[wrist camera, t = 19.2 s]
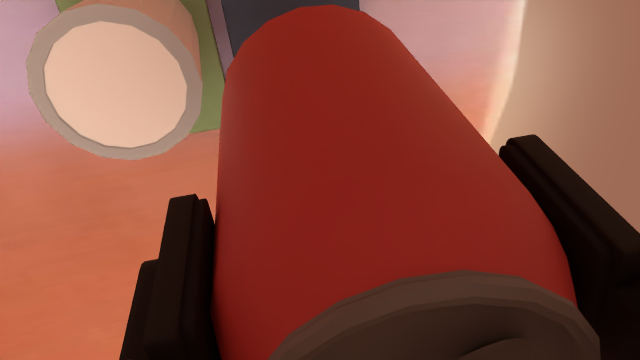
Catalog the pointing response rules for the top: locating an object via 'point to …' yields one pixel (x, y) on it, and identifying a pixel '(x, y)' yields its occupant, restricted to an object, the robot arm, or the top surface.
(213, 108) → the sage mat
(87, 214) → the top surface
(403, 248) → the beer can
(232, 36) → the slate mat
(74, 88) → the cup
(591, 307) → the robot arm
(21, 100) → the top surface
